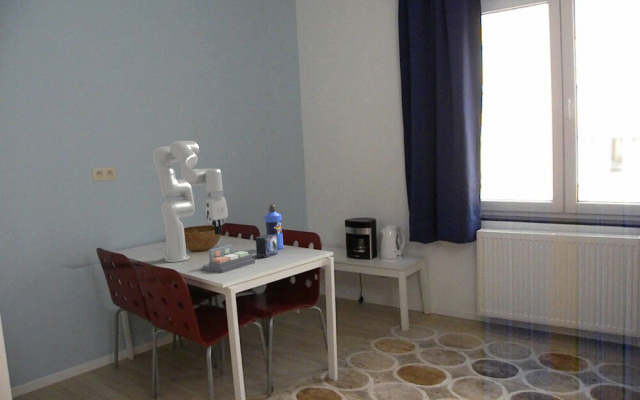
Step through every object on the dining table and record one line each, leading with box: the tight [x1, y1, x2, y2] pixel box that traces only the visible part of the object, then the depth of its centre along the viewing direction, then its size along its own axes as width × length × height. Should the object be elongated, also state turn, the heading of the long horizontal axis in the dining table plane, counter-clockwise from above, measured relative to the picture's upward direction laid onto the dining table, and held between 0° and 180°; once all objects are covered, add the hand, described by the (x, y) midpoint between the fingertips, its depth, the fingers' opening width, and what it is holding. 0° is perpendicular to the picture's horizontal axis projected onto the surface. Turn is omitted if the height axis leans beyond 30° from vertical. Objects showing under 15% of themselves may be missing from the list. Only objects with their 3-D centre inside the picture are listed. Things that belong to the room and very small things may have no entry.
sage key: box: [233, 250, 249, 257], centre depth 248 cm, size 5×5×2 cm
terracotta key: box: [212, 257, 228, 263], centre depth 237 cm, size 5×5×2 cm
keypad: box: [202, 244, 256, 274], centre depth 243 cm, size 14×21×9 cm, turn 143°
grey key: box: [223, 254, 238, 260], centre depth 243 cm, size 5×5×2 cm
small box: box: [255, 234, 279, 259], centre depth 263 cm, size 11×6×10 cm, turn 148°
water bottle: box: [264, 203, 284, 251], centre depth 279 cm, size 9×9×25 cm
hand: (218, 234), depth 236 cm, fingers closed
